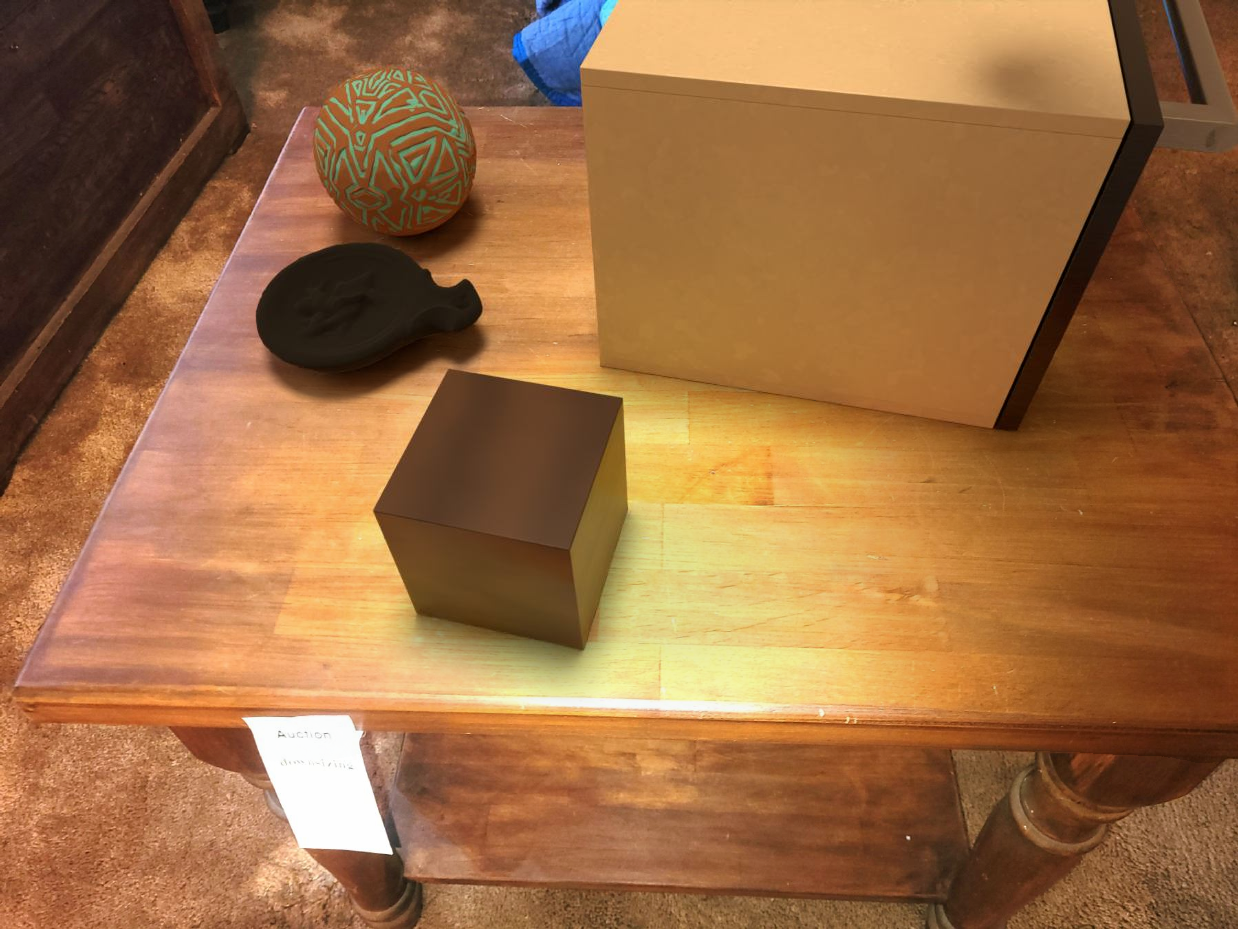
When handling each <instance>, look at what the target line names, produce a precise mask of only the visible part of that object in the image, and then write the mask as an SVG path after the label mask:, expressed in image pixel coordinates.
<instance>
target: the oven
mask: <svg viewBox="0 0 1238 929" xmlns="http://www.w3.org/2000/svg"><path fill="white" fill-rule="evenodd" d="M579 74H580V92H581V93H580V94H581V106H582V107H581V108H582V119H583V135H584V148H585V164H586V165H585V166H586V179H587V192H588V205H589V209H588V210H589V220H590V236H591V237H590V238H591V250H592V262H593V263H592V266H593V267H592V268H593V279H594V294H595V308H596V310H595V311H596V322H597V334H598V336H597V337H598V351H599V353H598V354H599V364H600V367H603V368H604V367H605V368H612V369H616V370H623V371H629V372H630V371H631V372H637V373H642V374H648V375H649V374H650V375H653V376H654V375H655V376H661V377H666V378H667V377H668V378H674V379H680V380H686V381H693V382H699V383H705V384H713V385H717V386H723V387H730V388H734V389H741V390H742V389H743V390H749V391H755V392H761V393H768V394H773V395H780V396H785V397H786V396H787V397H791V398H792V397H793V398H798V399H803V400H804V399H805V400H809V401H810V400H812V401H818V402H823V403H831V404H835V405H841V406H847V407H848V406H849V407H855V408H861V409H866V410H874V411H880V412H887V413H892V414H899V415H904V416H911V417H917V418H924V419H929V420H935V421H941V422H948V423H955V424H959V425H966V426H967V425H968V426H972V427H979V428H984V429H985V428H986V429H993V428H994V426H995V425H996V424H995V423H996V419H997V417H998V415H999V412H1000V410H1001V408H1002V406H1003V404H1004V401H1005V399H1006V397H1007V395H1008V392H1009V390H1010V388H1011V386H1012V384H1013V381H1014V379H1015V377H1016V375H1017V372H1018V370H1019V368H1020V366H1021V363H1022V361H1023V359H1024V357H1025V355H1026V352H1027V350H1028V348H1029V346H1030V343H1031V341H1032V339H1033V337H1034V335H1035V332H1036V330H1037V328H1038V326H1039V323H1040V321H1041V319H1042V317H1043V315H1044V312H1045V310H1046V308H1047V306H1048V303H1049V301H1050V299H1051V297H1052V295H1053V292H1054V290H1055V288H1056V286H1057V283H1058V281H1059V279H1060V277H1061V275H1062V272H1063V270H1064V268H1065V266H1066V263H1067V261H1068V259H1069V257H1070V255H1071V252H1072V250H1073V248H1074V246H1075V243H1076V241H1077V239H1078V237H1079V234H1080V232H1081V230H1082V228H1083V226H1084V223H1085V221H1086V219H1087V217H1088V214H1089V212H1090V210H1091V208H1092V206H1093V203H1094V201H1095V199H1096V197H1097V194H1098V192H1099V190H1100V188H1101V186H1102V183H1103V181H1104V179H1105V177H1106V174H1107V172H1108V170H1109V168H1110V166H1111V163H1112V161H1113V159H1114V157H1115V154H1116V152H1117V150H1118V148H1119V146H1120V143H1121V141H1122V138H1123V136H1124V134H1125V132H1126V129H1127V127H1128V125H1129V123H1130V121H1131V119H1130V114H1129V109H1128V104H1127V99H1126V94H1125V88H1124V83H1123V78H1122V73H1121V68H1120V63H1119V57H1118V52H1117V47H1116V42H1115V37H1114V32H1113V27H1112V21H1111V16H1110V11H1109V6H1108V1H1107V0H617V2H616V4H615V6H614V7H613V9H612V10H611V13H609V16H608V17H607V19H606V21H605V23H604V24H603V26H602V28H601V30H600V31H599V33H598V35H597V37H596V38H595V40H594V42H593V43H592V45H591V47H590V48H589V50H588V52H587V54H586V55H585V57H584V59H583V61H582V62H581V64H580V66H579Z"/></svg>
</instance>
